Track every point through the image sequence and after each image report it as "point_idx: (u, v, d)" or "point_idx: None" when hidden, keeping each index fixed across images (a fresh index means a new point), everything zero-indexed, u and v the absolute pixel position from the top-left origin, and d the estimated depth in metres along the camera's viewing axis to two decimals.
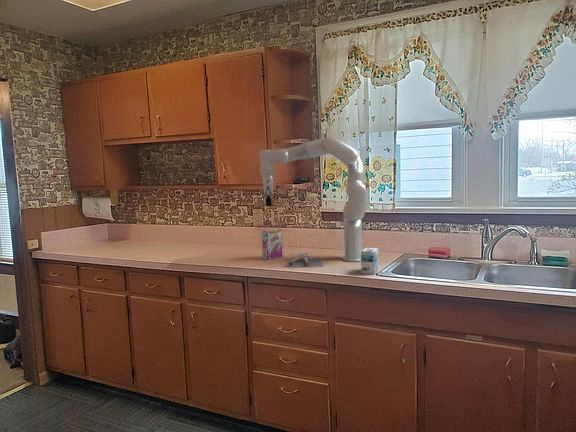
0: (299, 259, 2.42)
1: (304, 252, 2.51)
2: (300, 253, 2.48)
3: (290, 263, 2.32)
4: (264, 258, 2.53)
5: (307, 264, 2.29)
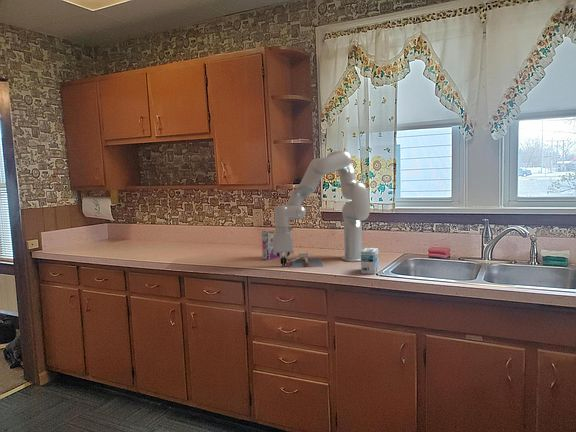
0: (299, 259, 2.42)
1: (304, 252, 2.51)
2: (300, 253, 2.48)
3: (290, 263, 2.32)
4: (264, 258, 2.53)
5: (307, 264, 2.29)
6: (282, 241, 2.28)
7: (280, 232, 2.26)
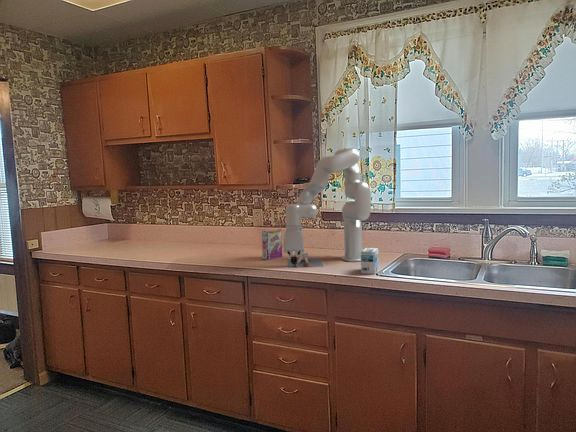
0: (302, 259, 2.41)
1: (304, 252, 2.51)
2: (300, 253, 2.48)
3: (299, 263, 2.31)
4: (264, 258, 2.53)
5: (307, 264, 2.29)
6: (293, 240, 2.28)
7: (291, 231, 2.26)
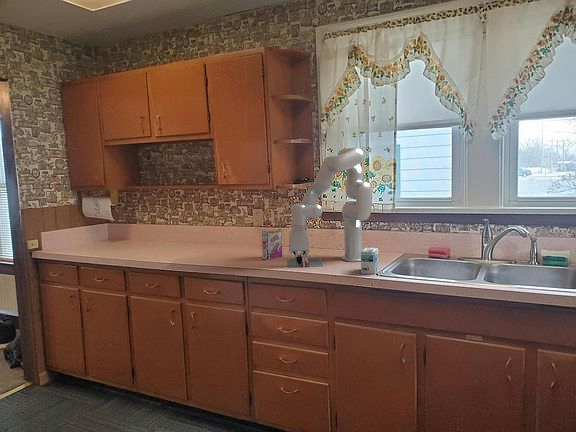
0: (303, 259, 2.41)
1: None
2: None
3: None
4: (264, 258, 2.53)
5: (307, 264, 2.29)
6: (298, 240, 2.28)
7: (297, 230, 2.26)
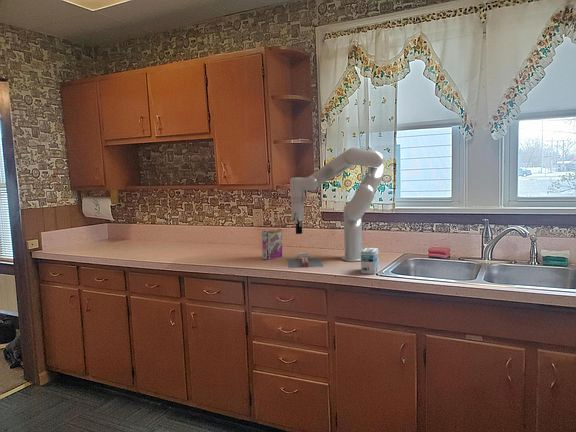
0: (303, 259, 2.41)
1: (304, 252, 2.51)
2: (300, 253, 2.48)
3: None
4: (264, 258, 2.53)
5: (307, 264, 2.29)
6: (302, 210, 2.44)
7: (303, 201, 2.43)
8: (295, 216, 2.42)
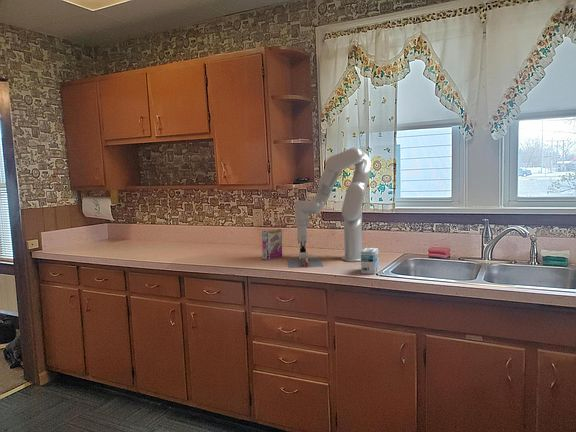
0: (303, 259, 2.41)
1: (304, 252, 2.50)
2: (300, 253, 2.47)
3: None
4: (264, 258, 2.53)
5: (307, 264, 2.29)
6: None
7: (308, 224, 2.50)
8: (302, 238, 2.48)
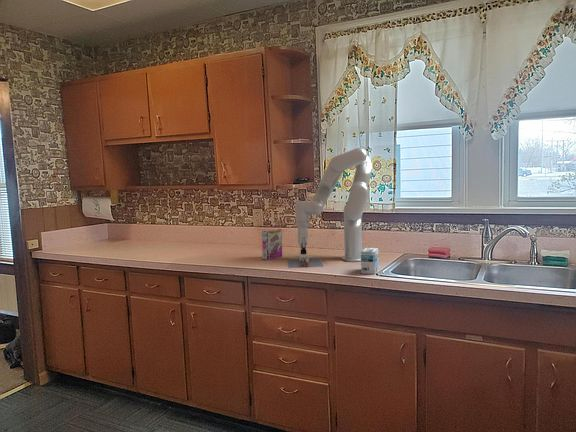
0: (303, 259, 2.41)
1: (305, 254, 2.45)
2: (301, 255, 2.42)
3: None
4: (264, 258, 2.53)
5: (307, 264, 2.29)
6: None
7: (309, 225, 2.46)
8: (302, 240, 2.43)
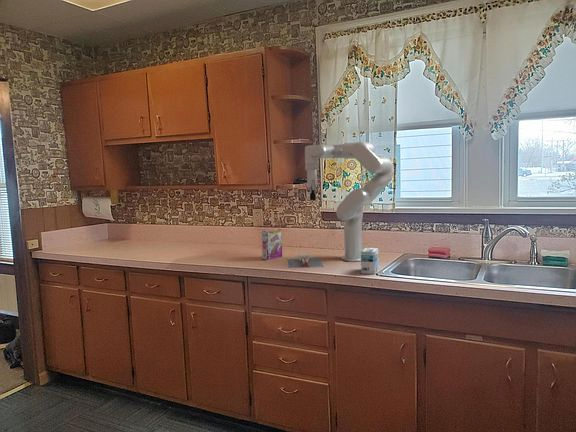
0: (303, 259, 2.41)
1: (305, 254, 2.46)
2: (301, 255, 2.43)
3: None
4: (264, 258, 2.53)
5: (307, 264, 2.29)
6: None
7: (318, 168, 2.54)
8: (312, 182, 2.52)
